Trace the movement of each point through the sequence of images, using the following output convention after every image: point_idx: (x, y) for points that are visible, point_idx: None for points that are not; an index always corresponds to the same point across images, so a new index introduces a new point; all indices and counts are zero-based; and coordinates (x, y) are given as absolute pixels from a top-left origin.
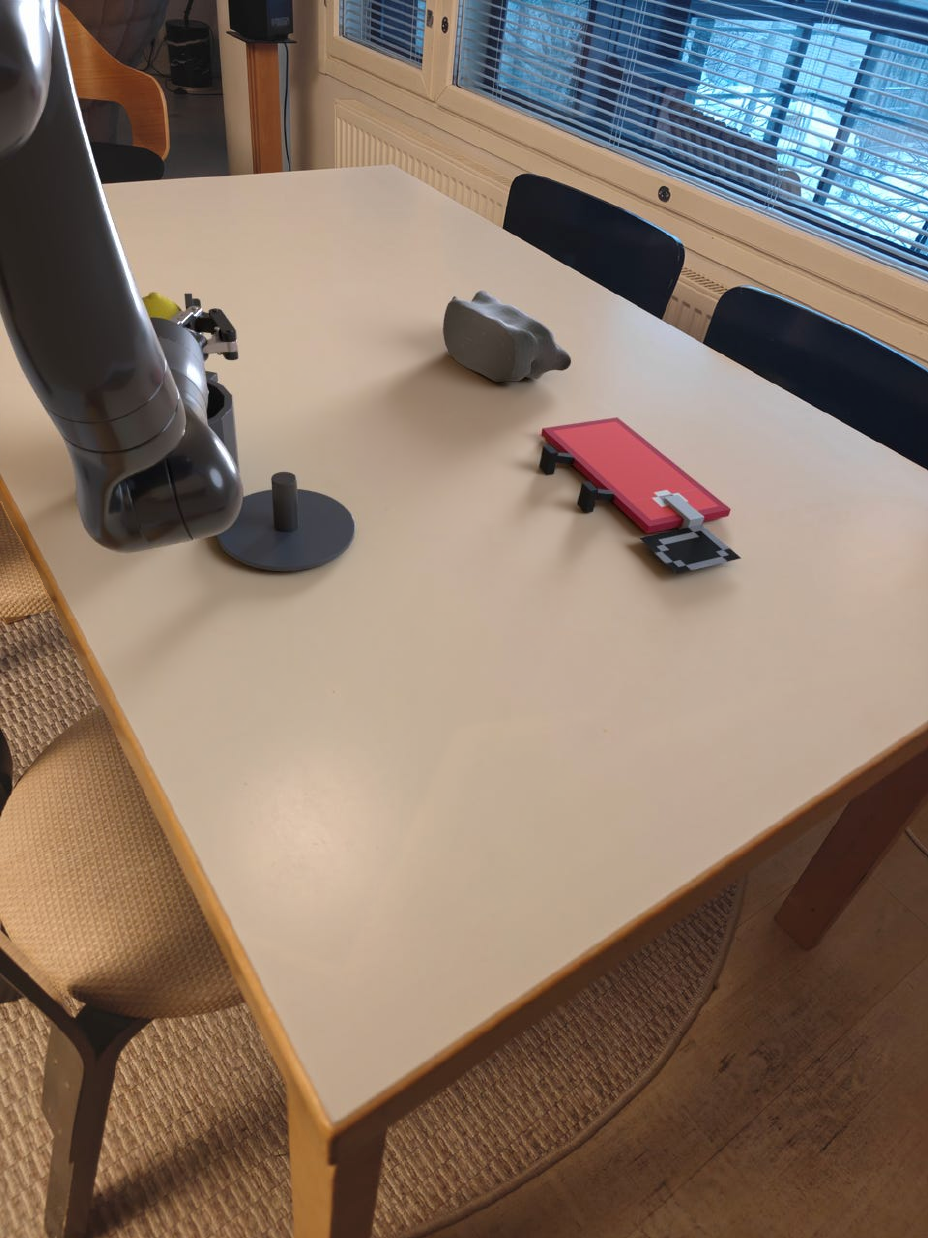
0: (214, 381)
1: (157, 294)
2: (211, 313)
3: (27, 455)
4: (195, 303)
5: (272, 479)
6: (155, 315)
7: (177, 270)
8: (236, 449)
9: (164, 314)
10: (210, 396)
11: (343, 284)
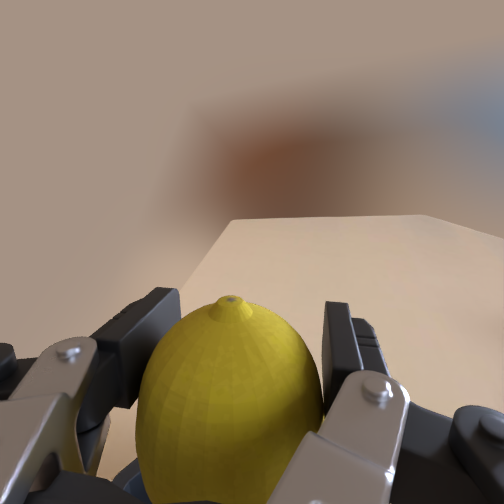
0: None
1: (240, 306)
2: (488, 461)
3: None
4: (360, 341)
5: None
6: (207, 393)
7: (304, 258)
8: None
9: (243, 392)
10: None
11: (428, 276)
